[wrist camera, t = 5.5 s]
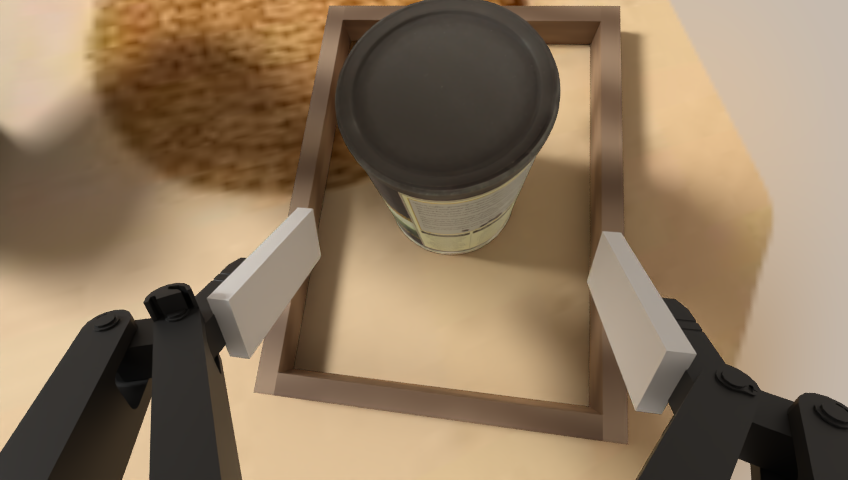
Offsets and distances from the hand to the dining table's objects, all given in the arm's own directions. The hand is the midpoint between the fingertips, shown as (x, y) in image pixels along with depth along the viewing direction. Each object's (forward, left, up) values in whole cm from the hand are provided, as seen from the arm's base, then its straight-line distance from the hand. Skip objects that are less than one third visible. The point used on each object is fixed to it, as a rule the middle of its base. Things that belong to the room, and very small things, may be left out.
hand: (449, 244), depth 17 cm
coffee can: (+6, +3, -12) cm, 14 cm away
